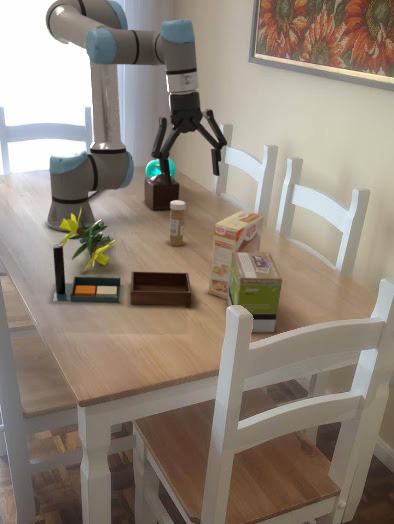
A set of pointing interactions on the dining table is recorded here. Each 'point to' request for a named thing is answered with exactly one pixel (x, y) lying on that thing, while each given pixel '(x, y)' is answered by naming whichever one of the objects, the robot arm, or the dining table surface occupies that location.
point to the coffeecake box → (232, 247)
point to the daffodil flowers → (87, 239)
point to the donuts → (155, 170)
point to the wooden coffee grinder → (160, 191)
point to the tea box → (255, 288)
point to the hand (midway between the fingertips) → (192, 179)
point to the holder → (160, 289)
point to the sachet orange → (85, 290)
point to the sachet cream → (106, 291)
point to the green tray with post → (79, 283)
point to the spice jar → (176, 222)
